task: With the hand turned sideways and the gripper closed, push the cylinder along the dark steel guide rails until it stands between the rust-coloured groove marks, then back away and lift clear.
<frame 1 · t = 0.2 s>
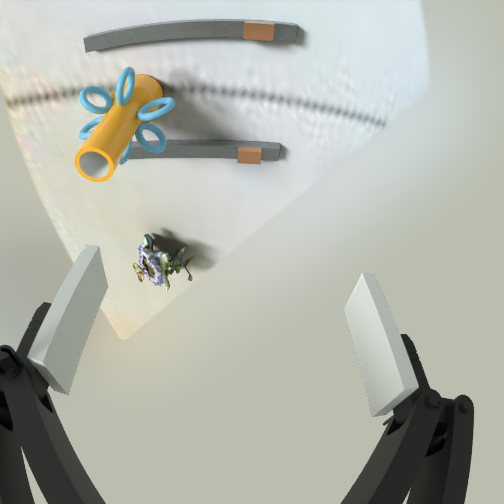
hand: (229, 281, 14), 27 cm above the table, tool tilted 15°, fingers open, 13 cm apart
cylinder: (142, 93, 31), on the table
guide track: (195, 90, 32), on the table
passion flower: (168, 242, 57), on the table
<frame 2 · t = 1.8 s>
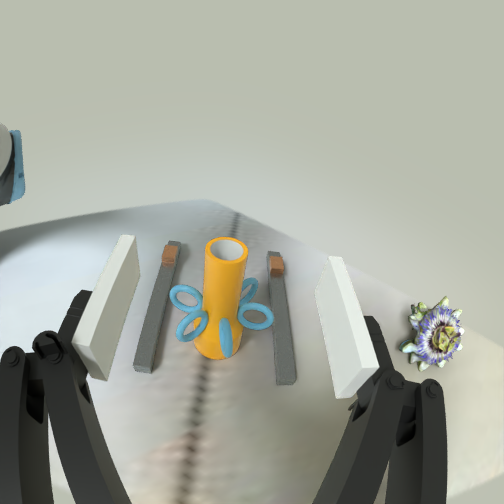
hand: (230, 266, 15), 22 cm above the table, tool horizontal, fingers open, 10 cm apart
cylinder: (216, 341, 37), on the table
guide track: (219, 300, 42), on the table
passion flower: (417, 348, 40), on the table
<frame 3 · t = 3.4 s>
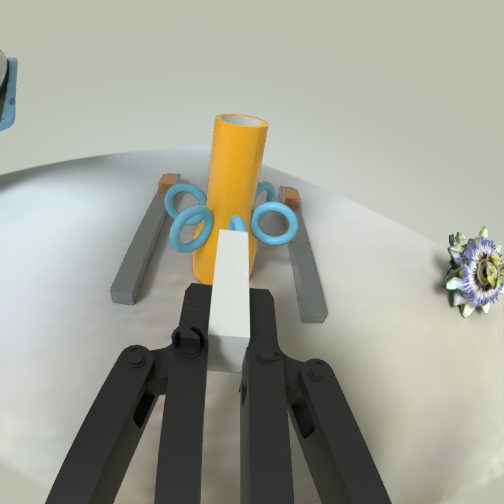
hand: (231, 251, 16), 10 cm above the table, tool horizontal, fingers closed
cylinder: (221, 271, 30), on the table
guide track: (225, 229, 35), on the table
passion flower: (456, 294, 33), on the table
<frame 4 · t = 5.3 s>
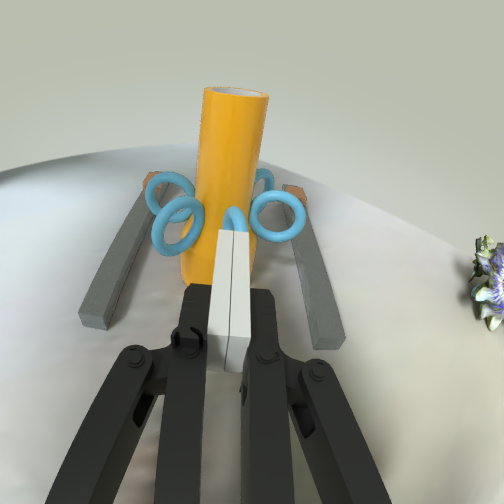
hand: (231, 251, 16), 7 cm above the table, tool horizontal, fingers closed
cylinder: (215, 275, 25), on the table
guide track: (219, 235, 30), on the table
passion flower: (480, 304, 27), on the table
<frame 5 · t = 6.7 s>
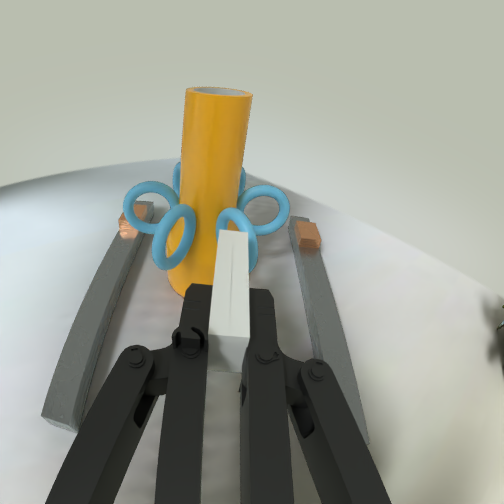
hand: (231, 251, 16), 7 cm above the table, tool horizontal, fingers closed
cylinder: (202, 278, 25), on the table, touching gripper
guide track: (212, 293, 23), on the table
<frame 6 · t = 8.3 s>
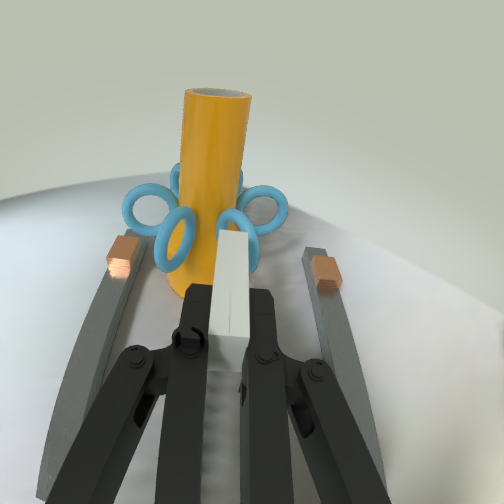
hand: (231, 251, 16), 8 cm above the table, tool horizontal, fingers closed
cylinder: (202, 280, 25), on the table, touching gripper
guide track: (218, 350, 19), on the table
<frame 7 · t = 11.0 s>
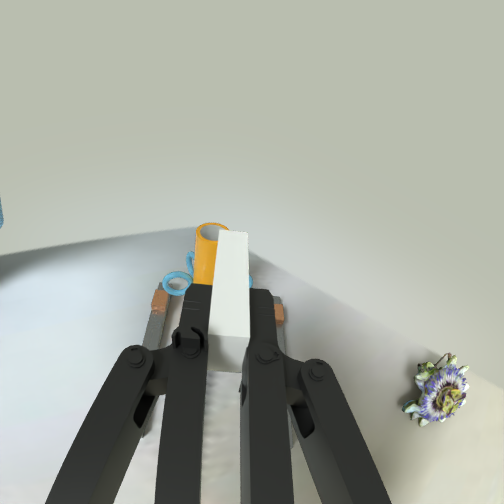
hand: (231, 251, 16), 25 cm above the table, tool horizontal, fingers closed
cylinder: (205, 315, 43), on the table
guide track: (213, 355, 38), on the table
passion flower: (419, 400, 35), on the table
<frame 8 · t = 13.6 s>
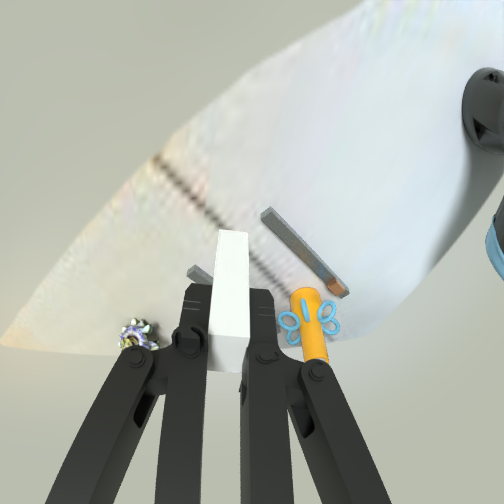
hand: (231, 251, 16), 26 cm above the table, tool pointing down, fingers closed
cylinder: (305, 296, 57), on the table
guide track: (275, 283, 54), on the table
passion flower: (146, 329, 63), on the table
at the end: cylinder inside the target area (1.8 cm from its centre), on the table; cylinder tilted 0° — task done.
